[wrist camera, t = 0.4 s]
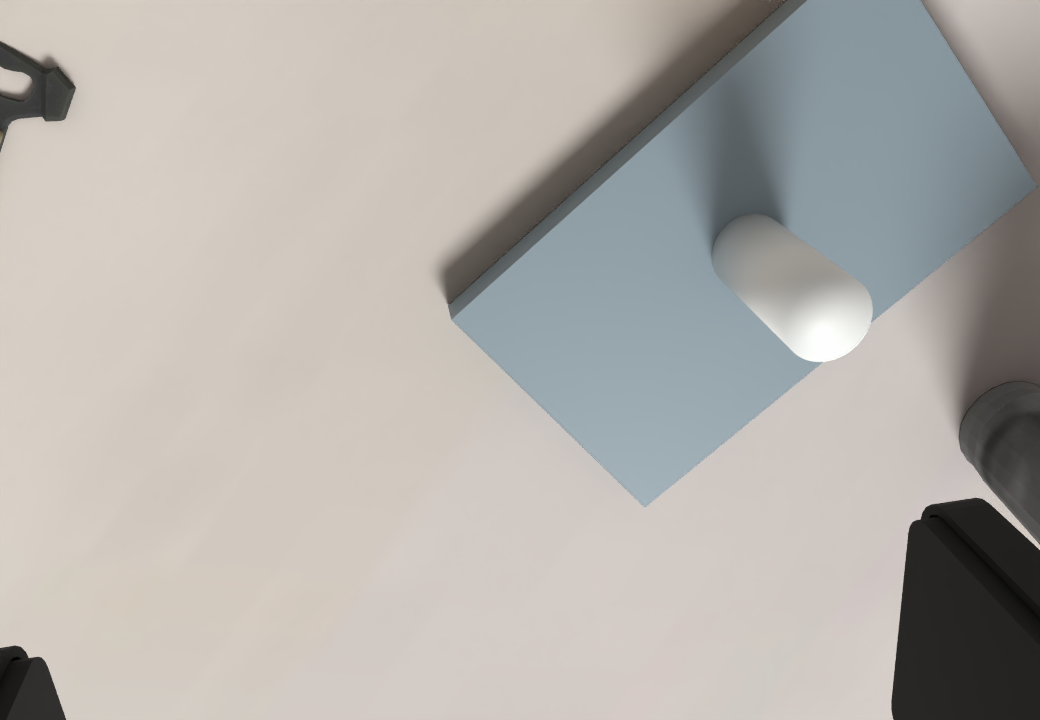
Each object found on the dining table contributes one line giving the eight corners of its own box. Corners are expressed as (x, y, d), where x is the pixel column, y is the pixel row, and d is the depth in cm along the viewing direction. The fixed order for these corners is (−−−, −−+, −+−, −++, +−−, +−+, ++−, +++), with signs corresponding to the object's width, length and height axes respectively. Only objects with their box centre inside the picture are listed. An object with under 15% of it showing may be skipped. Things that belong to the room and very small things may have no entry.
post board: (859, -66, 35) (999, -61, 28) (1014, 177, 40) (1170, 239, 32) (448, 305, 39) (470, 401, 31) (636, 489, 43) (695, 612, 36)
